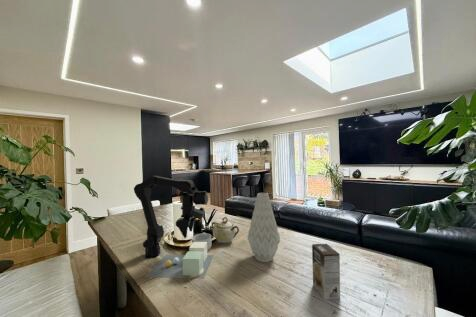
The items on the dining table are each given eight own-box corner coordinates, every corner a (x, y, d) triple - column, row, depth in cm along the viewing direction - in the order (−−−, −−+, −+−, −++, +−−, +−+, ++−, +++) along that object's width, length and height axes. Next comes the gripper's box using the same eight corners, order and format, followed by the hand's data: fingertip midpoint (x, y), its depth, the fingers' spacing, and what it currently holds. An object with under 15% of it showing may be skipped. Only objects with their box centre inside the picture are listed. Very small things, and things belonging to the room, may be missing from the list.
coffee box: (312, 284, 80) (311, 243, 80) (327, 283, 81) (326, 242, 81) (323, 300, 71) (322, 254, 71) (341, 298, 71) (340, 253, 72)
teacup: (207, 255, 106) (207, 240, 106) (188, 254, 108) (188, 239, 108) (215, 245, 120) (215, 231, 120) (198, 243, 122) (198, 230, 122)
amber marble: (163, 268, 93) (163, 261, 93) (166, 264, 96) (166, 258, 96) (170, 268, 93) (170, 261, 93) (172, 265, 96) (172, 258, 96)
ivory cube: (189, 262, 99) (189, 247, 99) (193, 255, 106) (193, 241, 106) (204, 262, 98) (203, 247, 98) (207, 255, 105) (207, 241, 105)
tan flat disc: (180, 277, 86) (180, 276, 86) (187, 266, 95) (187, 265, 95) (200, 277, 85) (200, 276, 85) (205, 266, 94) (205, 265, 94)
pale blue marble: (171, 265, 96) (171, 259, 96) (174, 262, 99) (174, 256, 99) (177, 265, 95) (177, 259, 95) (180, 262, 98) (179, 256, 98)
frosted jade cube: (182, 275, 87) (182, 258, 87) (188, 266, 94) (188, 251, 94) (199, 275, 86) (199, 259, 86) (203, 266, 93) (203, 251, 93)
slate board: (144, 278, 87) (144, 276, 87) (166, 255, 107) (166, 254, 107) (204, 279, 84) (204, 278, 84) (213, 256, 105) (213, 255, 105)
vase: (240, 258, 102) (239, 194, 102) (260, 248, 114) (259, 190, 115) (268, 270, 91) (266, 197, 91) (286, 257, 103) (285, 193, 103)
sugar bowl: (244, 239, 127) (244, 215, 127) (232, 249, 114) (232, 222, 114) (218, 234, 136) (218, 212, 137) (204, 242, 123) (204, 218, 123)
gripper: (197, 208, 95) (198, 241, 95) (207, 200, 113) (207, 228, 113) (174, 208, 96) (175, 241, 96) (187, 200, 114) (188, 228, 114)
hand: (188, 234), depth 105 cm, fingers open, 9 cm apart
